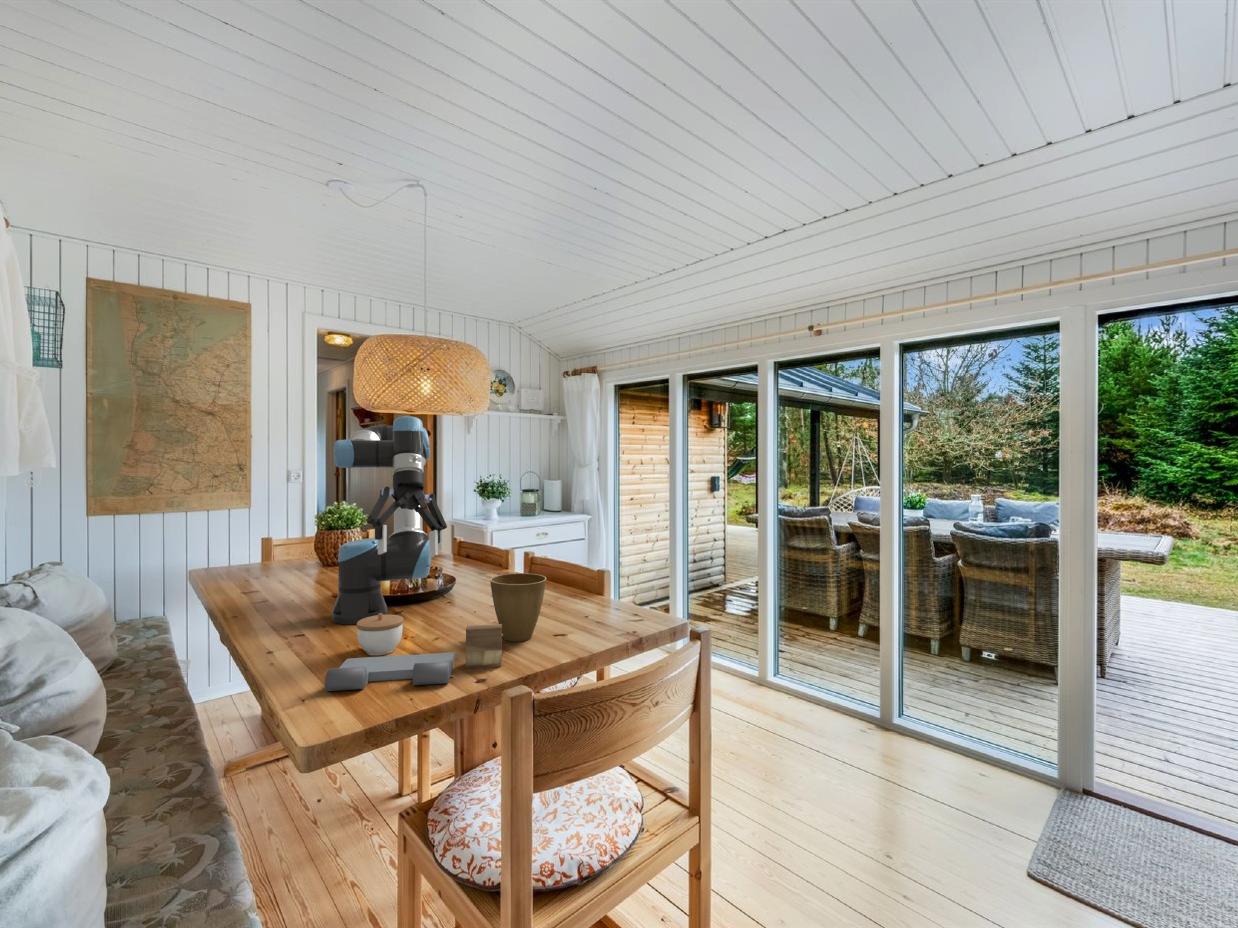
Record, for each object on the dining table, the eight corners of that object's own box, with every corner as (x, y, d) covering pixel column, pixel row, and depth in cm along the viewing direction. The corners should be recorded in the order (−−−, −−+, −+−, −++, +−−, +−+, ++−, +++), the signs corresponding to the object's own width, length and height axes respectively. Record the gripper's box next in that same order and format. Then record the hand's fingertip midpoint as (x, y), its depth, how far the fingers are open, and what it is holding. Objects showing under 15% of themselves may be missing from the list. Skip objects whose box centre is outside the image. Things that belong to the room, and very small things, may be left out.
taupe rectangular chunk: (467, 662, 132) (467, 624, 132) (501, 660, 133) (501, 623, 133) (465, 669, 127) (465, 630, 127) (501, 667, 129) (501, 628, 129)
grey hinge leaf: (447, 686, 118) (447, 665, 118) (324, 694, 114) (324, 673, 114) (454, 660, 133) (454, 642, 133) (347, 667, 129) (346, 648, 128)
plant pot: (535, 648, 142) (535, 585, 141) (480, 644, 145) (480, 582, 144) (553, 630, 156) (553, 573, 156) (503, 627, 159) (503, 571, 159)
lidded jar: (412, 648, 141) (412, 611, 141) (375, 661, 132) (374, 622, 132) (385, 641, 147) (385, 605, 146) (347, 653, 137) (347, 615, 137)
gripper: (367, 460, 133) (366, 547, 125) (458, 476, 151) (461, 554, 144) (353, 470, 137) (350, 555, 130) (443, 485, 155) (445, 560, 148)
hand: (409, 554), depth 137 cm, fingers open, 13 cm apart
